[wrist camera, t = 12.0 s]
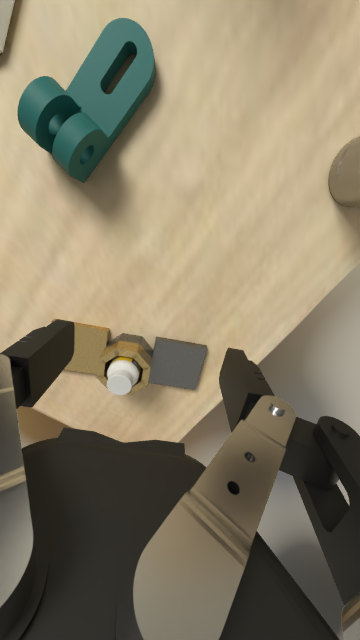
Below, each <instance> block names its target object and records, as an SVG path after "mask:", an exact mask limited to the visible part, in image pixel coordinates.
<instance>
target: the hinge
mask: <svg viewBox="0 0 360 640" xmlns="http://www.w3.org/2000/svg"><path fill="white" fill-rule="evenodd" d="M55 320H57V319H54V320H53V321H52V322H54V321H55ZM73 323H74V325H75V345H74V354H73V357H72V359H71V361H70V362H69V364H68V365H67V366H66V367H65V368H64V370H70V371H77V372H83V373H90V374H96V375H97V378H98V379H99V380H100V381H101V382H102V383H103V384H104V385H105V386H106V388H107V381H108V377H107V371H108V368H109V366H110V364H111V362H112V360H113V358H114V357H116V356H117V355H119V356H125V357H131V358H134V359H135V360H136V361H137V362H138V364H139V365H140V366H141V370H140V374H139V378H138V380H137V382H136V383H135V384H134V385H133V386H132V388H131V390H130V392H129V393H127V394H130V395H131V394H133V393H135V392H136V391H138V390H140V389H142V388H143V387H145V386H147V385H148V383H154V384H161V385H167V386H174V387H180V388H187V389H193V390H195V389H196V386H197V382H198V379H199V375H200V372H201V368H202V365H203V361H204V358H205V354H206V350H207V346H206V345H201V344H195V343H190V342H184V341H178V340H172V339H167V338H161V337H156V341H155V346H154V351H153V349H152V348H151V347H150V346H149V344H148V343H147V342H146V341H145V339H144V338H143V337H142V336H136V335H130V334H124V333H123V334H121V335H119V336H118V337H116V338H115V339H113V340H112V341H110V342H108V336H109V328H104V327H98V326H92V325H87V324H81V323H75V322H73ZM107 389H108V388H107Z"/></svg>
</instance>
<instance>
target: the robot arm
mask: <svg viewBox="0 0 360 640" xmlns="http://www.w3.org/2000/svg"><path fill="white" fill-rule="evenodd" d="M329 188H330V192H331V194H332V196H333V198H334V199H335V200H336V201H337V202H338V203H340V204H341V205H344V206H348V207H356V206H360V137H358V138H356V139H354V140H352V141H351V142H349V143H348V144H347V145H345V146H344V147H343V149H342V150H341V151H340V152H339V153H338V155H337V156H336V158H335V160H334V162H333V164H332V166H331V170H330V174H329ZM74 345H75V325H74V323H73V322H71V321H65V320H59V319H57V320H55V321H54V322H52V323H51V324H50V325H48V326H47V327H42V328H39V329H36V330H33V331H32V332H30V333H29V334H27V335H26V337H23V338H22V339H20V341H17V342H16V343H15V344H13V345H12V346H10V347H9V348H7V349H6V350H4V351H3V352H2V353H0V640H339V638H338V637H337V636H336V634H335V633H334V632H333V630H332V629H331V628H330V626H329V625H328V624H327V622H326V621H325V620H324V618H323V617H322V616H321V615H320V613H319V612H318V611H317V609H316V608H315V607H314V605H313V604H312V603H311V602H310V600H309V599H308V598H307V596H306V595H305V594H304V592H303V591H302V590H301V588H300V587H299V586H298V584H297V583H296V582H295V581H294V579H293V578H292V577H291V575H290V574H289V573H288V571H287V570H286V569H285V567H284V566H283V565H282V564H281V562H280V561H279V560H278V558H277V557H276V556H275V554H274V553H273V552H272V550H271V549H270V548H269V547H268V545H267V544H266V543H265V541H264V540H263V539H262V538H261V536H260V535H259V533H258V532H257V528H258V525H259V522H260V520H261V517H262V514H263V511H264V509H265V506H266V503H267V500H268V498H269V495H270V492H271V489H272V487H273V484H274V481H275V478H276V476H277V473H278V470H280V471H283V472H285V473H287V474H290V475H292V476H293V478H294V480H295V483H296V485H297V488H298V490H299V493H300V495H301V497H302V500H303V503H304V505H305V508H306V510H307V513H308V515H309V518H310V520H311V523H312V525H313V528H314V530H315V533H316V535H317V538H318V540H319V543H320V546H321V548H322V551H323V553H324V556H325V558H326V561H327V563H328V566H329V568H330V571H331V573H332V576H333V578H334V581H335V583H336V586H337V588H338V591H339V593H340V596H341V598H342V601H343V603H344V608H343V610H342V615H341V624H342V630H343V635H344V638H345V640H360V436H359V435H358V434H357V433H356V432H355V431H354V430H353V429H352V428H351V427H350V426H348V425H347V424H345V423H344V422H342V421H340V420H338V419H335V418H333V417H329V416H323V417H320V419H319V420H318V422H317V424H314V423H311V422H309V421H306V420H303V419H301V418H298V417H296V413H295V411H294V409H293V408H292V407H291V406H290V405H289V404H288V403H287V402H285V401H283V400H282V399H280V398H278V397H275V396H274V394H273V392H272V390H271V388H270V387H269V385H268V383H267V381H265V378H264V376H263V375H262V372H261V371H260V369H259V368H258V366H257V365H256V364H254V363H253V362H252V361H249V360H248V359H247V357H246V355H245V353H244V351H243V350H238V349H232V348H228V349H227V351H226V355H225V358H224V361H223V365H222V368H221V371H220V376H219V384H220V389H221V393H222V397H223V401H224V405H225V408H226V413H227V416H228V420H229V425H230V429H231V432H232V433H231V435H230V436H229V437H228V439H227V440H226V442H225V443H224V444H223V446H222V447H221V449H220V450H219V451H218V453H217V454H216V455H215V457H214V458H213V460H212V461H211V462H210V464H209V465H208V467H207V468H206V467H205V466H204V465H203V464H201V463H200V462H199V461H197V460H196V459H194V458H192V457H190V456H188V455H186V454H185V449H184V444H183V443H175V442H168V441H160V440H149V441H139V442H128V443H123V442H120V441H117V440H114V439H112V438H109V437H107V436H104V435H102V434H99V433H97V432H94V431H86V430H79V429H71V428H63V430H62V432H61V434H60V436H59V437H58V438H52V439H47V440H43V441H39V442H36V443H34V444H31V445H28V446H26V447H24V448H22V447H21V440H20V433H19V426H18V417H17V408H18V407H19V406H25V407H33V406H34V405H35V403H36V402H37V401H38V400H39V399H40V397H41V396H42V395H43V394H44V393H45V391H46V390H47V389H48V388H49V386H50V385H51V384H52V383H53V382H54V380H55V379H56V378H57V377H58V376H59V374H60V373H61V372H62V371H63V370H64V368H65V367H66V366H67V365H68V364H69V362H70V361H71V359H72V357H73V354H74ZM339 479H340V481H341V483H342V484H343V486H344V488H345V490H346V491H347V493H348V497H349V502H350V506H349V505H348V503H347V502H346V500H345V499H344V496H343V494H342V493H341V491H340V489H339V487H338V486H337V484H336V483H337V481H338V480H339Z"/></svg>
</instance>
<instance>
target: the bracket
mask: <svg viewBox="0 0 360 640" xmlns="http://www.w3.org/2000/svg"><path fill="white" fill-rule="evenodd" d="M130 54H136V55H137V56H136V58H135V59H134V61H133V62H132V64H131V65H130V67H129V68H128V70H127V71H126V73H125V74H124V76H123V77H122V78H121V80H120V81H119V83H118V84H117V86H116V87H115V89H114V90H113V92H112V93H111V94H105V91H106V89H107V87H108V86H109V84H110V83H111V81H112V80H113V78H114V77H115V75H116V74H117V72H118V71H119V69H120V68H121V66H122V65H123V63H124V62H125V60H126V58H127V57H128V56H129V55H130ZM154 78H155V63H154V55H153V49H152V45H151V42H150V39H149V37H148V35H147V34H146V32H145V31H144V29H143V28H142V27H141V26H140V25H139V24H138V23H136V22H135V21H133V20H131V19H127V18H119V19H115V20H113V21H112V22H110V23H109V24H108V25H107V26H106V27H105V28H104V30H103V31H102V33H101V35H100V36H99V38H98V40H97V41H96V43H95V44H94V46H93V48H92V49H91V51H90V53H89V54H88V56H87V58H86V59H85V61H84V62H83V64H82V66H81V67H80V69H79V71H78V72H77V74H76V75H75V77H74V79H73V80H72V82H71V84H70V85H69V87H68V89H67V90H66V91H65V90H64V89H63V88H62V87H61V86H60V85H59V84H58V83H57V82H56V81H55V80H54V79H53V78H51V77H48V76H42V77H39V78H37V79H35V80H33V81H32V82H31V83H30V84H29V85H28V86H27V87H26V89H25V90H24V92H23V94H22V96H21V99H20V101H19V106H18V121H19V124H20V126H21V128H22V129H23V130H24V131H25V132H26V133H27V134H28V135H29V136H30V137H31V138H32V139H33V140H34V141H35V142H36V143H37V144H38V145H39V146H40V147H42V148H43V149H45V150H46V151H48V152H50V153H51V154H52V155H53V158H54V160H55V161H56V162H57V163H58V164H59V165H60V166H61V167H62V168H63V169H64V170H65V171H66V172H67V173H68V174H69V175H70V176H72V177H74V178H76V179H78V180H79V181H81V182H83V183H85V181H86V180H87V178H88V177H89V176H90V174H91V173H92V171H93V170H94V169H95V167H96V166H97V164H98V163H99V162H100V160H101V159H102V157H103V156H104V155H105V153H106V152H107V150H108V149H109V148H110V146H111V145H112V143H113V142H114V141H115V139H116V138H117V136H118V135H119V134H120V132H121V131H122V129H123V128H124V127H125V125H126V124H127V122H128V121H129V120H130V118H131V117H132V115H133V114H134V113H135V111H136V110H137V108H138V107H139V106H140V104H141V103H142V101H143V100H144V99H145V97H146V96H147V94H148V93H149V92H150V90H151V88H152V86H153V83H154Z"/></svg>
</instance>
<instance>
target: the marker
mask: <svg viewBox="0 0 360 640" xmlns="http://www.w3.org/2000/svg"><path fill="white" fill-rule="evenodd" d="M14 3H15V0H0V53H3V50H4V46H5V42H6V38H7V33H8V29H9V25H10V20H11V16H12V12H13V8H14Z"/></svg>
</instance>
